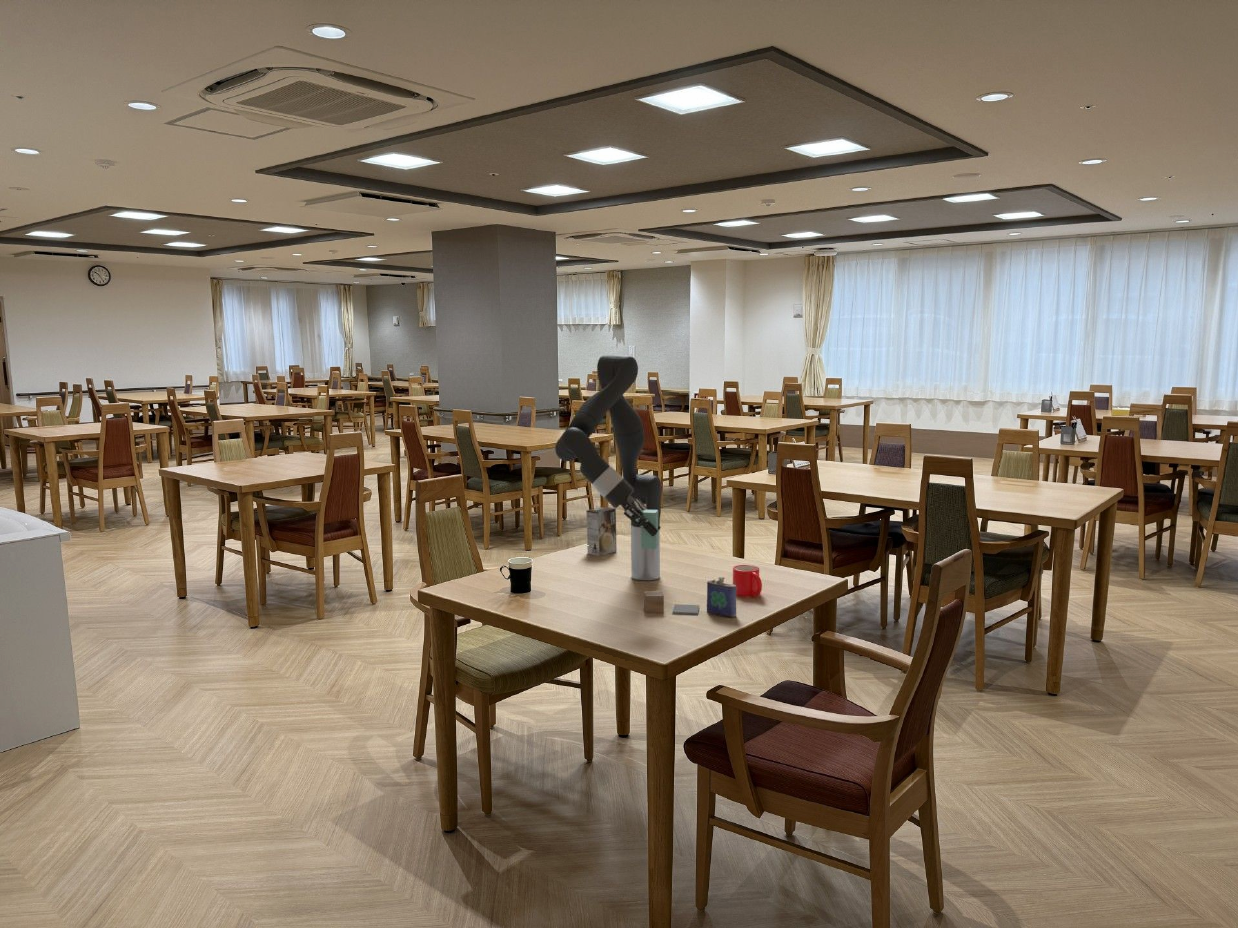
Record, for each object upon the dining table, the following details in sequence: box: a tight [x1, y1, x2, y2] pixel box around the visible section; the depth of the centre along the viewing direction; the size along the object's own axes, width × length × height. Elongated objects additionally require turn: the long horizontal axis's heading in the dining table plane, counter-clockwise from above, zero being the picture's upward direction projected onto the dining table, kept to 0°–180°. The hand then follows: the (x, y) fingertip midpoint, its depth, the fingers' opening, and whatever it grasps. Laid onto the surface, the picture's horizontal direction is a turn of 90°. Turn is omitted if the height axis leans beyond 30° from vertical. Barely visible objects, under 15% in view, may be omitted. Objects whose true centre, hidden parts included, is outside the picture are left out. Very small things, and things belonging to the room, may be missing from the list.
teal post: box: [641, 510, 658, 549], centre depth 236 cm, size 4×4×10 cm
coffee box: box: [586, 506, 618, 557], centre depth 312 cm, size 9×6×16 cm
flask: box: [706, 576, 737, 619], centre depth 240 cm, size 9×3×11 cm, turn 51°
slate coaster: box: [671, 603, 700, 616], centre depth 244 cm, size 7×7×1 cm
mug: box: [732, 564, 763, 598], centre depth 258 cm, size 8×12×8 cm, turn 27°
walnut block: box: [643, 590, 665, 614], centre depth 245 cm, size 5×5×5 cm
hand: (656, 531), depth 236 cm, fingers closed on teal post, 4 cm apart
